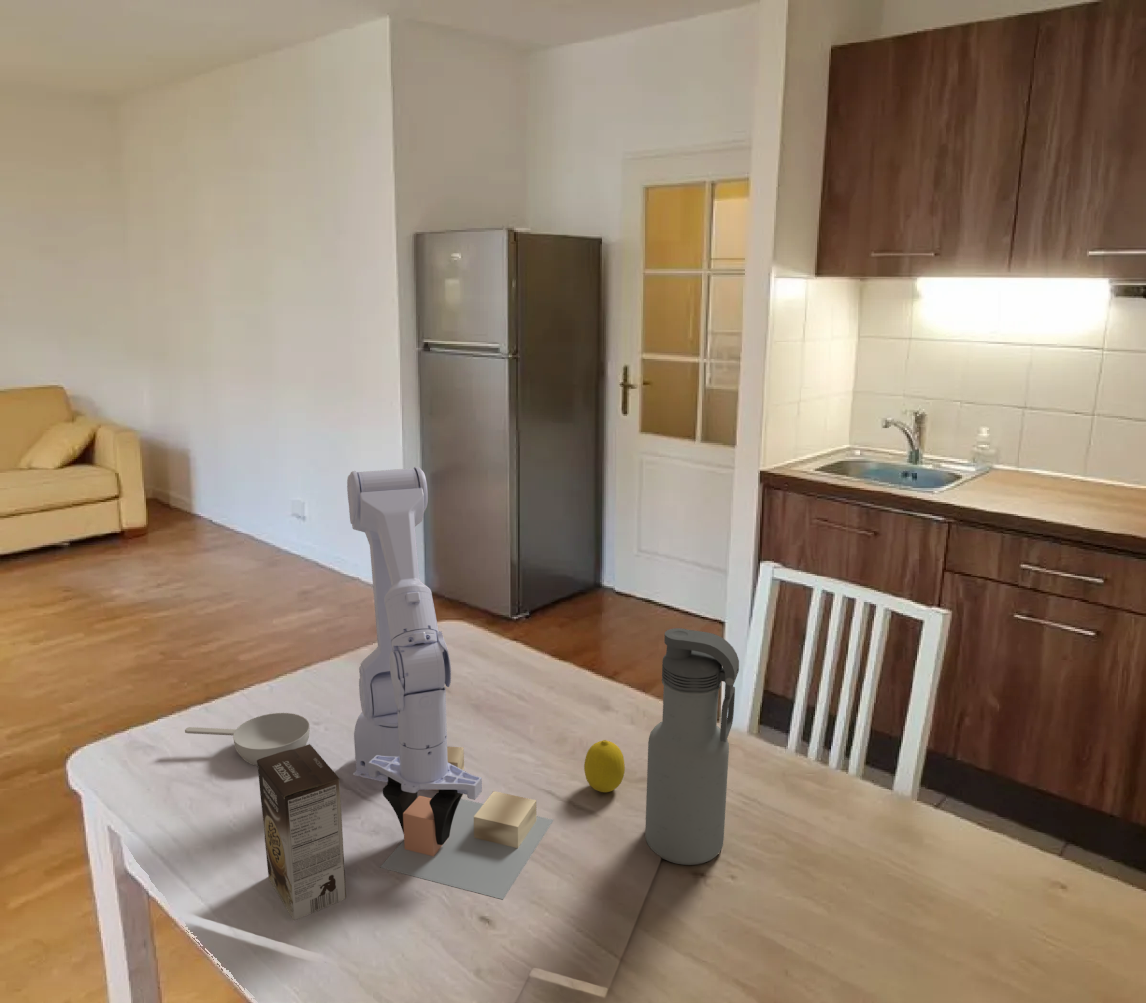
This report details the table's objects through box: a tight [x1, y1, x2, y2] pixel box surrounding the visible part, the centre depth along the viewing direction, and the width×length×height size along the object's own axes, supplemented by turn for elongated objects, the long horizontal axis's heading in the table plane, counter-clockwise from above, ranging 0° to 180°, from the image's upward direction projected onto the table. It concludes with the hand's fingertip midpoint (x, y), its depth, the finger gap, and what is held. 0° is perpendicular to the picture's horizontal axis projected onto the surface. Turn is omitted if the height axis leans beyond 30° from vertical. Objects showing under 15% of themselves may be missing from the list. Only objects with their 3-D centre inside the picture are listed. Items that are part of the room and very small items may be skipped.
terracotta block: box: [403, 795, 446, 856], centre depth 108 cm, size 4×4×5 cm
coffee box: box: [256, 743, 347, 921], centre depth 99 cm, size 9×6×16 cm
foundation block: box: [474, 790, 537, 848], centre depth 111 cm, size 6×6×3 cm
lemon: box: [583, 739, 626, 793], centre depth 120 cm, size 6×6×8 cm
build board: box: [379, 798, 554, 900], centre depth 109 cm, size 16×16×1 cm
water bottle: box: [644, 627, 740, 866], centre depth 107 cm, size 10×10×28 cm
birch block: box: [447, 746, 465, 771], centre depth 122 cm, size 4×4×5 cm
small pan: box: [184, 712, 310, 767], centre depth 130 cm, size 11×18×4 cm, turn 92°
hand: (426, 836), depth 109 cm, fingers closed on terracotta block, 4 cm apart
